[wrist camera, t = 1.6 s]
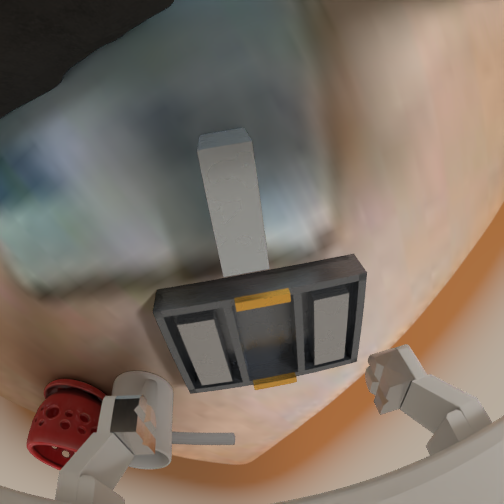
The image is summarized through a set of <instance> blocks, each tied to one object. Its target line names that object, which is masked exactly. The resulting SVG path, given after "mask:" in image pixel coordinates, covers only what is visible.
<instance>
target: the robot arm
mask: <svg viewBox="0 0 504 504" xmlns="http://www.w3.org/2000/svg"><path fill="white" fill-rule="evenodd" d="M368 363H369V365H370V366H369V367H368V368H367V369H366V373H365V378H366V383H367V387H368V389H369V392H371V393H372V394H374V395H376V396H375V399H374V403H375V405H376V407H377V409H378V411H379V414H380V415H381V414H384V413H387V412H391V411H394V410H397V409H400V410H402V411H403V412H404V413H405V414H407V415H408V416H410V417H411V418H413V419H414V420H415V421H417V422H418V423H419V424H421V425H422V426H424V427H425V428H427V429H428V430H429V431H431V432H432V433H434V435H433V436H432V438H431V439H430V440H429V442H428V443H427V445H426V448H427V450H428V452H429V454H430V456H428V457H426V458H424V459H421V460H419V461H417V462H414V463H412V464H410V465H407V466H405V467H402V468H400V469H397V470H395V471H392V472H389V473H386V474H384V475H381V476H378V477H375V478H372V479H369V480H366V481H363V482H360V483H357V484H353V485H350V486H347V487H343V488H340V489H336V490H333V491H328V492H325V493H321V494H316V495H313V496H308V497H303V498H299V499H294V500H288V501H283V502H278V503H272V504H504V416H502V417H501V418H499V419H498V420H496V421H494V422H493V423H492V421H491V420H490V418H489V416H488V415H487V413H486V411H485V410H484V408H483V407H482V405H481V403H480V402H479V400H478V399H477V398H476V397H474V396H472V395H470V394H468V393H466V392H464V391H462V390H461V389H459V388H456V387H455V386H453V385H451V384H449V383H447V382H445V381H443V380H441V379H439V378H437V377H436V376H433V375H432V374H429V375H427V374H426V372H425V370H424V369H423V367H422V365H421V364H420V362H419V361H418V359H417V357H416V356H415V354H414V353H413V351H412V350H411V348H410V347H409V346H408V345H407V344H406V345H402V346H399V347H396V348H392V349H388V350H385V351H382V352H379V353H375V354H372V355H370V356H369V358H368ZM156 423H157V422H156V415H155V413H154V410H153V408H152V407H151V406H150V405H148V404H147V399H146V397H145V396H144V395H124V396H105V397H104V399H103V401H102V406H101V411H100V417H99V422H98V428H97V433H93V434H92V435H91V436H90V437H89V438H88V439H87V440H86V442H85V443H84V444H83V445H82V446H81V447H80V448H79V449H78V451H77V452H76V453H75V454H74V455H73V456H72V457H71V459H70V460H69V461H68V462H67V463H66V464H65V465H64V467H63V468H62V469H61V470H60V472H59V477H58V483H57V490H56V497H55V500H53V499H48V498H44V497H39V496H35V495H31V494H27V493H24V492H20V491H16V490H13V489H9V488H6V487H3V486H0V504H125V500H124V499H123V497H121V496H120V495H118V494H117V493H115V492H114V491H113V489H114V488H115V486H116V484H117V483H118V481H119V480H120V478H121V477H122V475H123V474H124V472H125V471H126V469H127V467H128V466H129V464H130V463H131V461H132V460H133V458H134V455H149V454H155V445H156V439H155V438H154V436H153V435H152V434H153V433H154V431H155V430H156Z"/></svg>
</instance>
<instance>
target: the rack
mask: <svg viewBox="0 0 504 504" xmlns="http://www.w3.org/2000/svg"><path fill="white" fill-rule="evenodd" d="M366 277H367V272H366V271H365V269H364V268H363V266H362V265H361V263H360V262H359V261H358V259H357V258H356V256H355V255H354V254H350V255H345V256H340V257H335V258H330V259H325V260H320V261H314V262H309V263H304V264H299V265H293V266H288V267H283V268H277V269H272V270H267V271H261V272H256V273H250V274H245V275H239V276H234V277H228V278H222V279H217V280H211V281H205V282H200V283H194V284H188V285H182V286H177V287H171V288H165V289H159V290H157V292H156V297H155V303H154V308H153V314H154V316H155V319H156V321H157V323H158V326H159V328H160V330H161V332H162V335H163V337H164V339H165V341H166V344H167V346H168V348H169V350H170V352H171V354H172V357H173V359H174V361H175V363H176V365H177V367H178V369H179V371H180V373H181V376H182V378H183V380H184V382H185V384H186V386H187V388H188V390H189V392H190V394H191V393H199V392H207V391H215V390H222V389H229V388H235V387H241V386H248V385H253V384H254V388H255V390H258V389H264V388H269V387H275V386H280V385H285V384H290V383H294V382H297V379H296V376H300V375H304V374H309V373H313V372H317V371H322V370H326V369H330V368H334V367H338V366H342V365H346V364H349V363H353V362H357V355H358V349H359V341H360V334H361V326H362V317H363V309H364V299H365V289H366Z"/></svg>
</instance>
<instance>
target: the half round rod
mask: <svg viewBox="0 0 504 504" xmlns="http://www.w3.org/2000/svg"><path fill="white" fill-rule="evenodd" d="M172 444H192V445H234V444H235V436H234V433H189V432H172Z"/></svg>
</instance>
